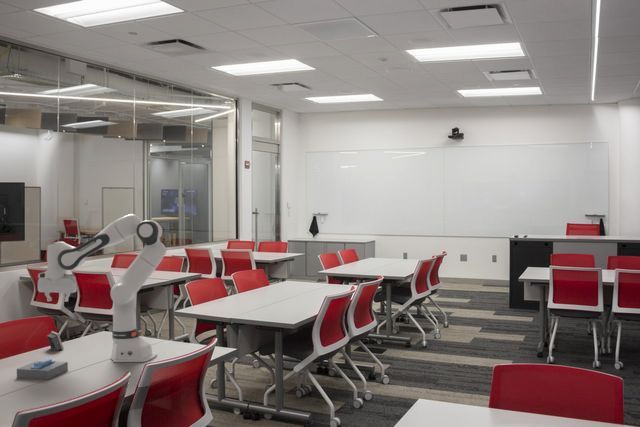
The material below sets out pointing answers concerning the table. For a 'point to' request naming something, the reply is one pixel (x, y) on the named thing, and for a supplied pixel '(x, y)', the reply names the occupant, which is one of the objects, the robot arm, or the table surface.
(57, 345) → the electrical switch
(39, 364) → the servo
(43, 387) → the table surface
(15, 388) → the table surface
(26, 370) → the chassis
